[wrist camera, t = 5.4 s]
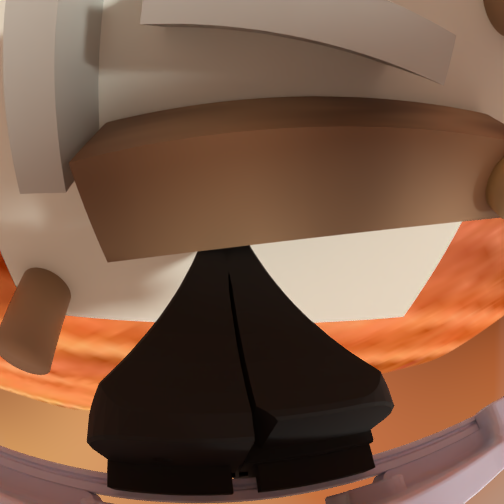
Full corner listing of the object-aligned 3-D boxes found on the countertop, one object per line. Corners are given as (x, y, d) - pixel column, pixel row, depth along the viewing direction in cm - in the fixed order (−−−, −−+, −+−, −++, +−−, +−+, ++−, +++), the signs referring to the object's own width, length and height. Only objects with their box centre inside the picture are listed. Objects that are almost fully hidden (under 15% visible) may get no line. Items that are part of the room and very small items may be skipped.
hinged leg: (486, 114, 9) (549, 154, 6) (472, 176, 11) (523, 225, 8) (106, 122, 8) (58, 175, 5) (128, 203, 10) (102, 278, 7)
